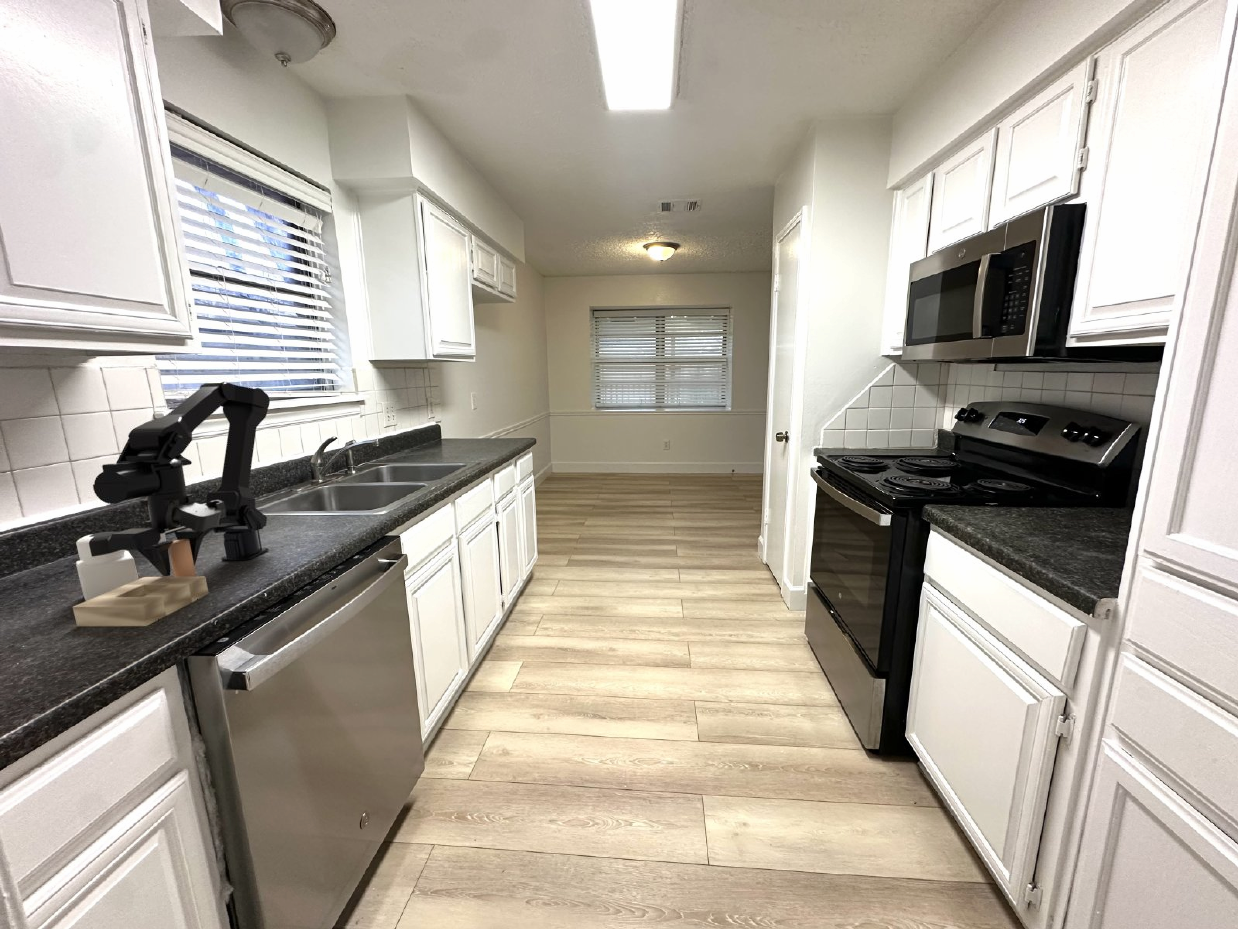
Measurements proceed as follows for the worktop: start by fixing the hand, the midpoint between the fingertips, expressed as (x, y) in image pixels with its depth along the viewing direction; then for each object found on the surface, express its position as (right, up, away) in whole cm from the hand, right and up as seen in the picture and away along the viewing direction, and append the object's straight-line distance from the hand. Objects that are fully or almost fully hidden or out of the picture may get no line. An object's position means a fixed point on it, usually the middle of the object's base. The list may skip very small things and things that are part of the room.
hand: (179, 571), depth 96 cm
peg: (0, -3, +2) cm, 3 cm away
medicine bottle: (-11, -4, -2) cm, 12 cm away
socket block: (+2, -5, -8) cm, 10 cm away
